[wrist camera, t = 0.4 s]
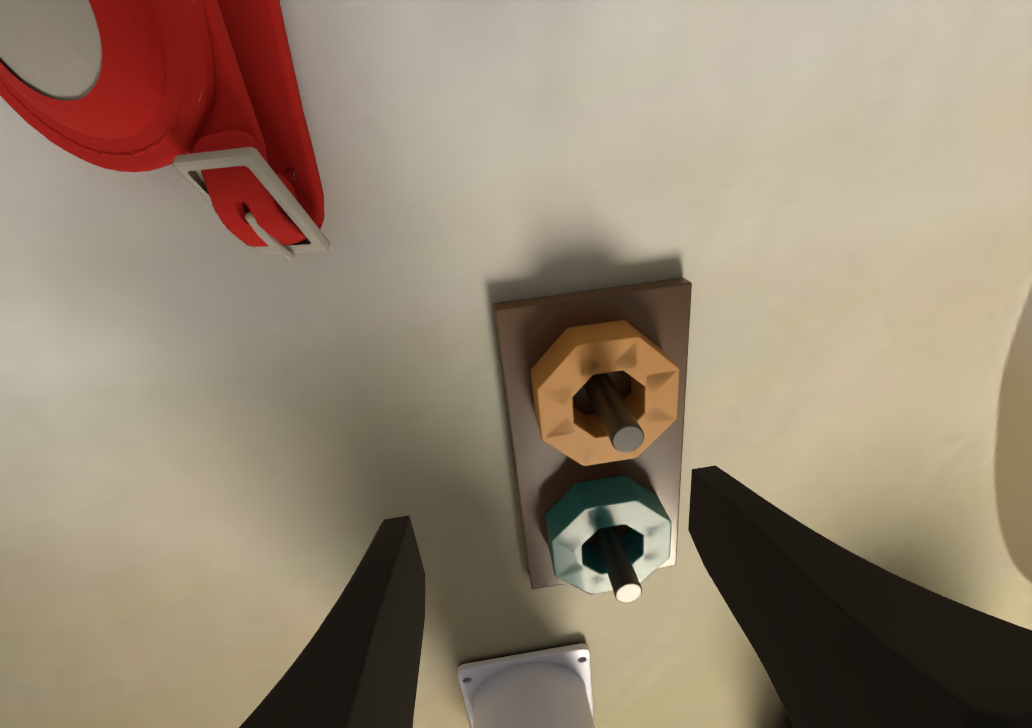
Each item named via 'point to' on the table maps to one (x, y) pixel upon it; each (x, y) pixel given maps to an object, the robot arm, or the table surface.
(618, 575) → the peg rack
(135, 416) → the table surface
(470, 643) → the table surface
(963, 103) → the table surface
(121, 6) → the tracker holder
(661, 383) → the ochre ring
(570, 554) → the teal ring
